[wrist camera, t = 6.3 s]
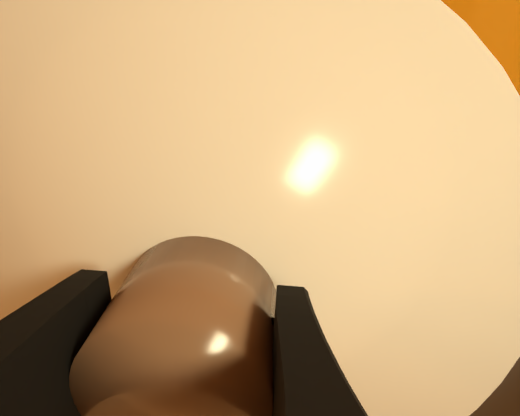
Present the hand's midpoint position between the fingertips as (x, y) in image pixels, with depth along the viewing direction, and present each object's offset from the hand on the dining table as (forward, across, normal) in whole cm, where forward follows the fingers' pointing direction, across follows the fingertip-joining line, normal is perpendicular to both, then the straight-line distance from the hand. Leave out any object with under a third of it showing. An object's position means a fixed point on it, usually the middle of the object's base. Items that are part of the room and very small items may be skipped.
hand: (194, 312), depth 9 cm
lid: (+2, 0, 0) cm, 2 cm away
